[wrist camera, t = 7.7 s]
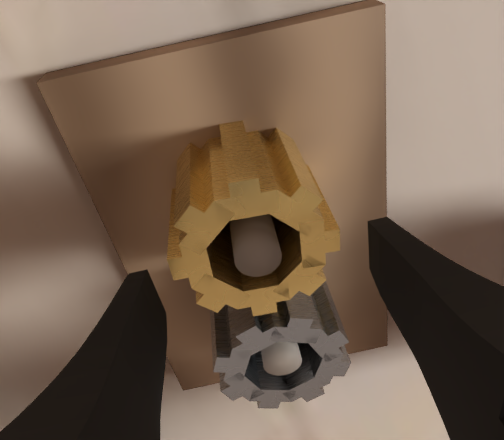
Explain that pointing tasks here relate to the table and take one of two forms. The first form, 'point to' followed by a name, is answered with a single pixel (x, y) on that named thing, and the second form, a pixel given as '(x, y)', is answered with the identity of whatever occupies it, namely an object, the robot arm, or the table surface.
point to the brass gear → (244, 206)
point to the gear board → (255, 119)
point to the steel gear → (279, 330)
